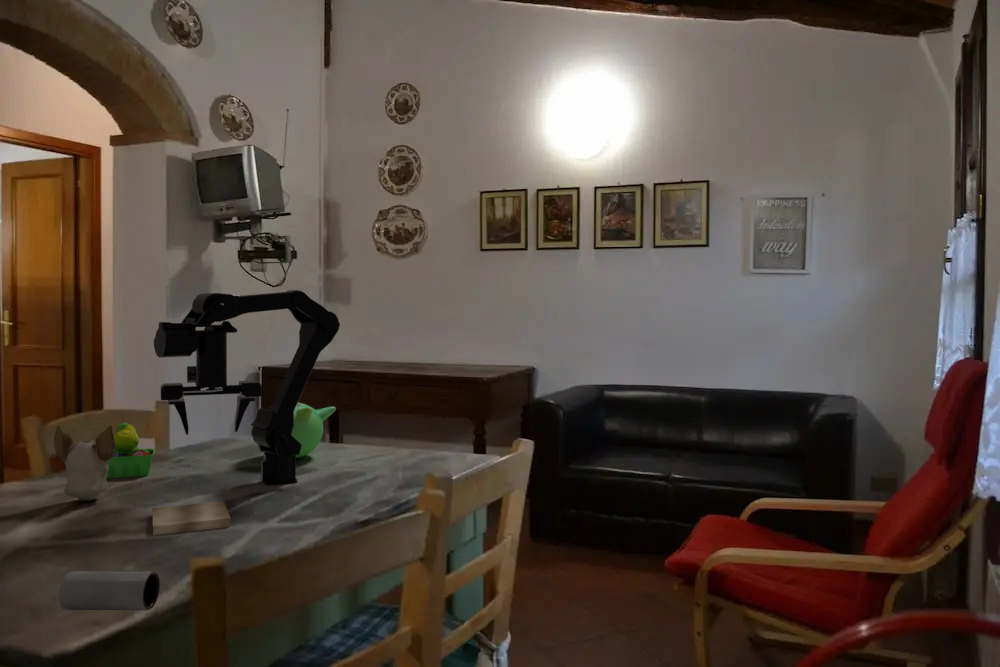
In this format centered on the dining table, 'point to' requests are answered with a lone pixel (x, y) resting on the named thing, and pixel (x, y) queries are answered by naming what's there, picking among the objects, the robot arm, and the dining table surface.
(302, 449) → the toy bird
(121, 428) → the fruit basket
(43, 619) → the dining table surface
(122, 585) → the grey hollow cylinder
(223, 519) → the oak block
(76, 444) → the white eared plush toy
